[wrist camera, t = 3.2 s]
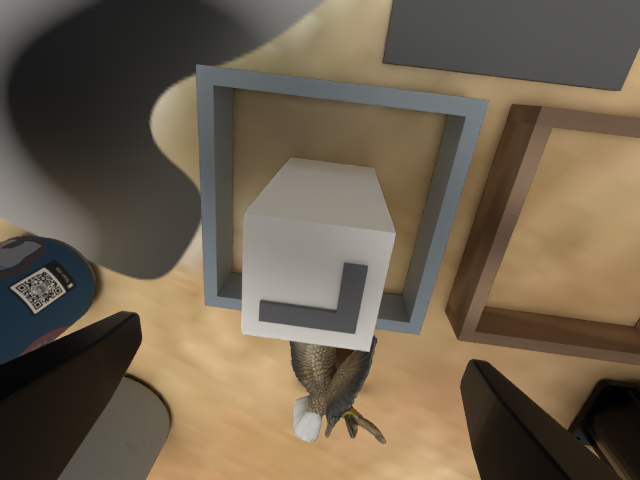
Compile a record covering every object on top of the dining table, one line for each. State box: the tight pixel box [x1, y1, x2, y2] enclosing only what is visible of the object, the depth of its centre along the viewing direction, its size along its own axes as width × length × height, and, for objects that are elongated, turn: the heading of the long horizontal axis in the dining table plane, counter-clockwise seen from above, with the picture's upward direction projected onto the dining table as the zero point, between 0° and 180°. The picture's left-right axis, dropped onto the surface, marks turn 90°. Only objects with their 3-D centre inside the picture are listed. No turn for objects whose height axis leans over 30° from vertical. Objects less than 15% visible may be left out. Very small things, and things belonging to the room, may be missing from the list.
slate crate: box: [196, 64, 489, 335], centre depth 20 cm, size 14×14×3 cm
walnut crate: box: [445, 104, 640, 365], centre depth 19 cm, size 14×14×3 cm
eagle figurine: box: [290, 335, 386, 444], centre depth 23 cm, size 8×7×9 cm
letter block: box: [241, 157, 396, 352], centre depth 16 cm, size 5×5×10 cm
